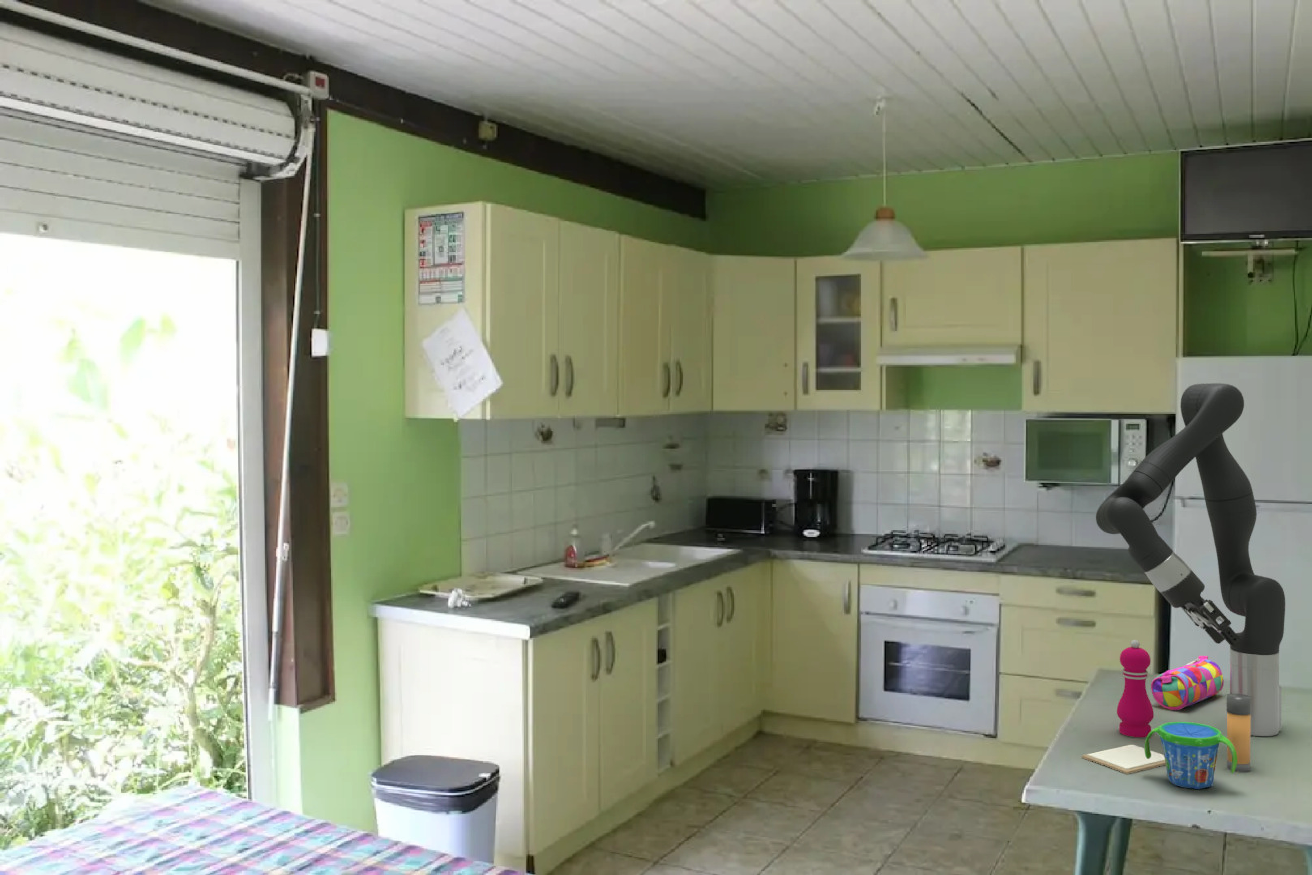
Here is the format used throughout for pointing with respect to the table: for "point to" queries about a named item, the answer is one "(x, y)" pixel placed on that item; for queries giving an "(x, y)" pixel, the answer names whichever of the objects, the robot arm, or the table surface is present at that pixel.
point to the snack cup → (1190, 752)
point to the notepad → (1127, 759)
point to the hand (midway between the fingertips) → (1229, 642)
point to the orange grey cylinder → (1239, 730)
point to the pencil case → (1187, 684)
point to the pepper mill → (1135, 693)
